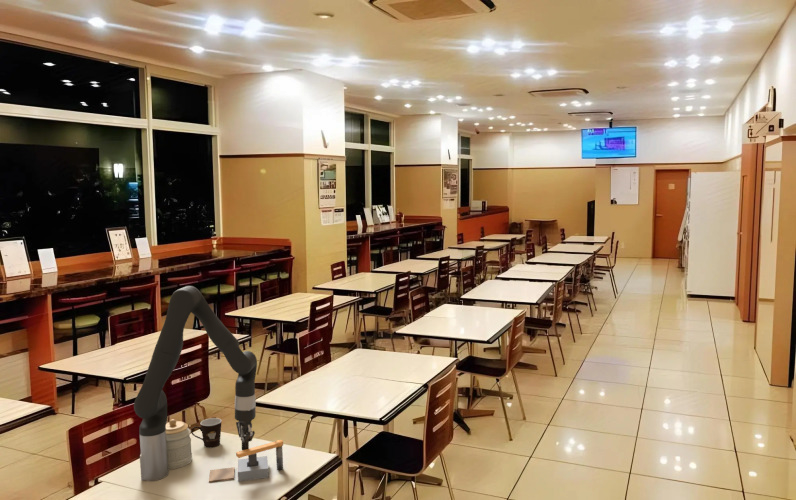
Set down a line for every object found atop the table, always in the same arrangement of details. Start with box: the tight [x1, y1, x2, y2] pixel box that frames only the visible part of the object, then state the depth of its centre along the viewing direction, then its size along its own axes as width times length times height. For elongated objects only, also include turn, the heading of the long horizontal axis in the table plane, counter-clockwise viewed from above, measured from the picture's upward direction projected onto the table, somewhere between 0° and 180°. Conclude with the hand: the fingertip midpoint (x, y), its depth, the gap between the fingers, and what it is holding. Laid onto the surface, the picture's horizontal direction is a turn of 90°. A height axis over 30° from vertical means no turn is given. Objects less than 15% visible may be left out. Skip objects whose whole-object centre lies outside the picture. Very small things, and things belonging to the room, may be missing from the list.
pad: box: [208, 466, 235, 483], centre depth 231 cm, size 9×9×1 cm
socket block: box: [237, 455, 270, 482], centre depth 233 cm, size 11×11×4 cm
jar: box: [166, 418, 193, 470], centre depth 242 cm, size 13×13×18 cm
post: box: [275, 446, 284, 472], centre depth 235 cm, size 2×2×9 cm
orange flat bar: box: [235, 439, 284, 459], centre depth 230 cm, size 18×3×1 cm, turn 126°
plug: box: [248, 453, 258, 467], centre depth 232 cm, size 3×3×9 cm
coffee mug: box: [190, 417, 222, 449], centre depth 259 cm, size 12×9×10 cm
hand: (245, 450), depth 229 cm, fingers closed
